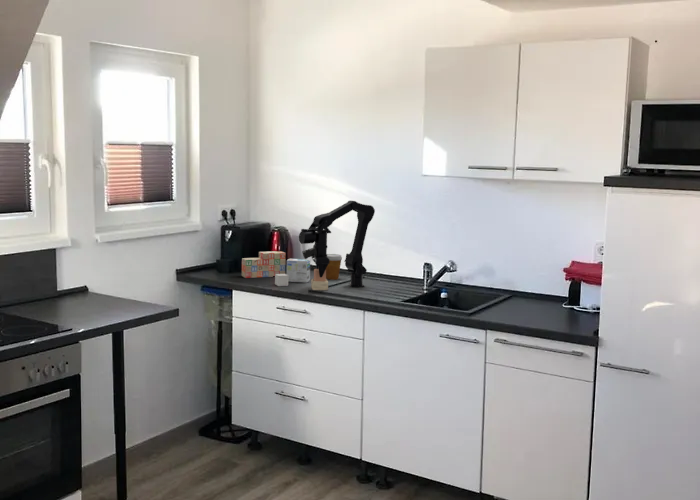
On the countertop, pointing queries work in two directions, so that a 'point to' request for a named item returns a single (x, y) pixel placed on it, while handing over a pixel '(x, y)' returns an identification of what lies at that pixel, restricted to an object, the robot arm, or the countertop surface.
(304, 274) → the light bulb box
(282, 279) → the white cube
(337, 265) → the disposable coffee cup
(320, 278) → the terracotta cube
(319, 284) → the birch block
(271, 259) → the stack of blocks
